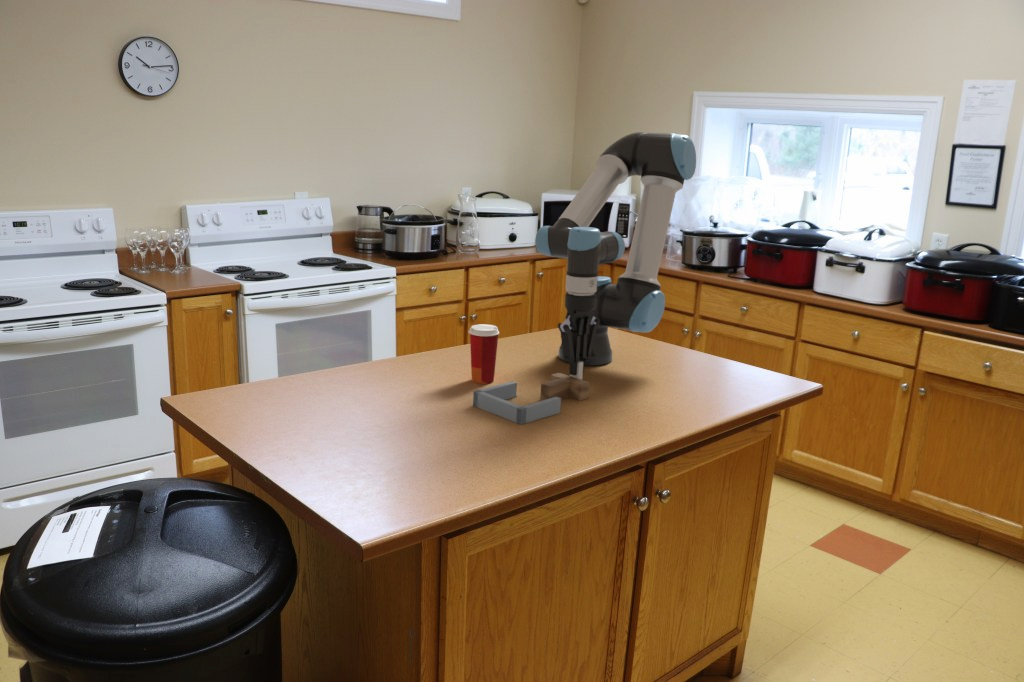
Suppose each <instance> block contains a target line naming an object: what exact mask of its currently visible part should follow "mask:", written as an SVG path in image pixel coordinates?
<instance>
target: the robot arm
mask: <svg viewBox="0 0 1024 682" xmlns="http://www.w3.org/2000/svg"><path fill="white" fill-rule="evenodd" d="M695 147H696V146H695V145H694V142H693V140H692V139H691V137H690V136H689V135H686V134H680V133H675V132H673V133H665V132H664V133H663V132H661V133H660V132H644V131H643V132H642V131H639V132H632V133H629V134H627V135H624V136H622V137H621V138H618V140H616V141H615V142H613V143H612V144H611V145H609V146H608V147H607V148H606V149H605V150H604V151H603V152H602V153H601V155H600V156H599V157H598V159H597V160H596V163H595V169H594V170H593V171H592V173H591V174H590V176H589V177H588V179H587V180H586V181H585V182H584V184H583V185H582V186H581V188H580V189H579V190H578V192H577V193H576V194H575V196H574V197H573V198H572V200H571V202H570V203H569V205H568V206H567V207H566V208H565V209H564V211H563V212H562V214H561V215H560V216H559V217H558V219H557V221H555V223H554V224H553V225H543V226H541V227H540V228H539V229H538V230H537V231H536V235H535V238H534V240H535V241H534V242H535V243H534V245H535V247H536V250H537V252H538V253H539V254H541V255H543V256H548V257H552V258H559V259H561V258H562V259H567V261H566V262H567V263H566V276H565V291H566V293H565V294H564V295H565V296H564V308H565V309H566V314H565V320H564V321H563V322H562V323H561V322H559V323H558V324H557V327H558V330H559V332H560V339H561V343H560V346H559V347H558V359H559V360H561V361H563V362H565V363H568V364H569V374H570V375H569V376H571V377H574V378H577V379H581V380H583V373H584V371H585V366H602V365H606V364H610V363H611V362H612V360H613V350H612V349H611V342H610V337H609V334H608V333H609V332H608V331H609V330H608V329H609V328H614V329H620V330H625V331H630V332H633V333H637V332H638V333H650V332H652V331H653V330H654V329H655V328H656V327H657V326H658V325H659V323H660V321H661V320H662V317H663V315H664V311H665V308H666V307H665V306H666V303H665V301H666V296H665V293H664V292H662V291H661V286H662V284H660V282H659V281H658V275H659V270H660V265H661V262H662V261H661V260H662V257H663V251H664V248H665V242H666V240H667V239H666V238H667V233H668V229H669V226H670V225H669V224H670V221H671V216H672V211H673V207H674V202H675V198H676V194H677V192H678V191H680V190H682V189H683V188H684V187H683V186H684V184H685V183H684V182H685V181H688V180H691V179H693V177H694V175H695V173H696V167H697V152H696V148H695ZM632 176H633V177H635V176H638V177H640V178H639V180H640V182H641V183H642V185H643V186H644V187H643V191H642V196H641V201H640V205H639V210H638V214H637V219H636V223H635V227H634V231H633V236H632V239H631V240H632V241H631V244H630V249H629V254H628V258H627V263H626V267H625V272H624V273H622V274H621V275H619V276H618V277H617V282H616V284H614V283H613V282H612V278H611V277H609V276H599V267H600V265H604V264H611V263H614V262H616V261H617V260H619V259H620V258H622V256H623V255H624V252H625V250H626V243H625V240H624V238H623V236H621V235H620V233H618V232H615V231H607V230H605V231H600V229H599V228H597V227H591V226H590V225H591V224H592V222H593V221H594V220H595V218H596V217H597V215H598V214H599V212H600V211H601V210H602V209H603V207H604V205H605V204H607V201H608V200H609V199H610V197H611V196H612V194H613V193H614V191H615V190H616V189H617V187H618V186H619V185H621V184H623V183H625V182H626V181H627V180H628V178H629V177H632Z"/></svg>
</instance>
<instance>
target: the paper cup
mask: <svg viewBox="0 0 1024 682" xmlns="http://www.w3.org/2000/svg"><path fill="white" fill-rule="evenodd" d="M467 332H468V334H469V340H470V343H469V344H470V368H471V370H470V371H471V382H473V383H475V384H479V385H480V384H481V385H487V384H492V383H494V381H495V371H496V364H497V351H498V342H499V341H498V340H499V334H500V331H499V327H498V326H496V325H495V324H486V323H481V324H479V323H478V324H473V325H471V327H470V328H469V330H468V331H467Z"/></svg>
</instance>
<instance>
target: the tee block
mask: <svg viewBox="0 0 1024 682" xmlns="http://www.w3.org/2000/svg"><path fill="white" fill-rule="evenodd" d="M589 394H590V382H589V381H586V380H583V379H582V380H581V379H577V378H574V377H571V376H570V375H568V374H564V373H561V372H556V373H552V374H550V380H549V381H545V382H542V383H540V399H539V400H540V401H542V400H546V399H549V398H553V397H559V398H561V400H563V399H566V398H571V399H573V400H577V401H583V400H587V399H589Z"/></svg>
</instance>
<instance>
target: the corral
mask: <svg viewBox="0 0 1024 682" xmlns="http://www.w3.org/2000/svg"><path fill="white" fill-rule="evenodd" d="M517 385H518V383H517V382H516V381H508V382H505V383H501V384H497V385H493V386H489V387H484V388H482V389H477V390H473V393H472V395H473V398H472V405H473V407H476V408H479V409H481V410H483V411H486V412H488V413H491V414H494V415H496V416H498V417H501V418H503V419H506V420H509V421H511V422H513V423H517V424H519V425H524V424H527V423H531V422H534V421H538V420H540V419H544V418H547V417H551V416H554V415H557V414H561V408H562V407H561V406H562V405H561V403H562V399H561V398H559V397H553V398H549V399H546V400H540V401H535V402H532V403H529V404H526V405H519V404H517V403H515V402H511V401H509V400H510V399H513V398H517V391H518V390H517V388H518V386H517Z"/></svg>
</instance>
